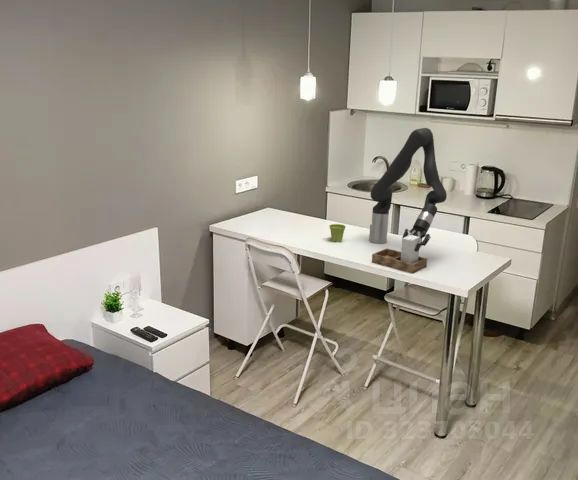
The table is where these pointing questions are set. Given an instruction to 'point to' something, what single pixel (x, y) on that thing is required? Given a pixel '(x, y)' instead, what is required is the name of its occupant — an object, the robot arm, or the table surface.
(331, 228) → the plant pot
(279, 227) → the table surface
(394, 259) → the divided wooden tray
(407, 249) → the skincare box
